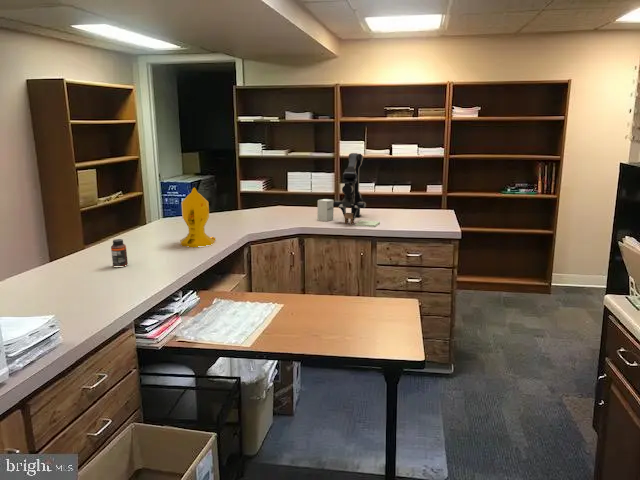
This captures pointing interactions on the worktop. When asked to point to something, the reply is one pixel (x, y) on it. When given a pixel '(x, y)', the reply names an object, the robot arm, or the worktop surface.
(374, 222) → the sage mat
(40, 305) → the worktop surface
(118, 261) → the supplement bottle
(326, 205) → the supplement box
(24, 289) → the worktop surface
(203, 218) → the yellow pointed sculpture
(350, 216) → the toy stool
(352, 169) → the robot arm
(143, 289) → the worktop surface
